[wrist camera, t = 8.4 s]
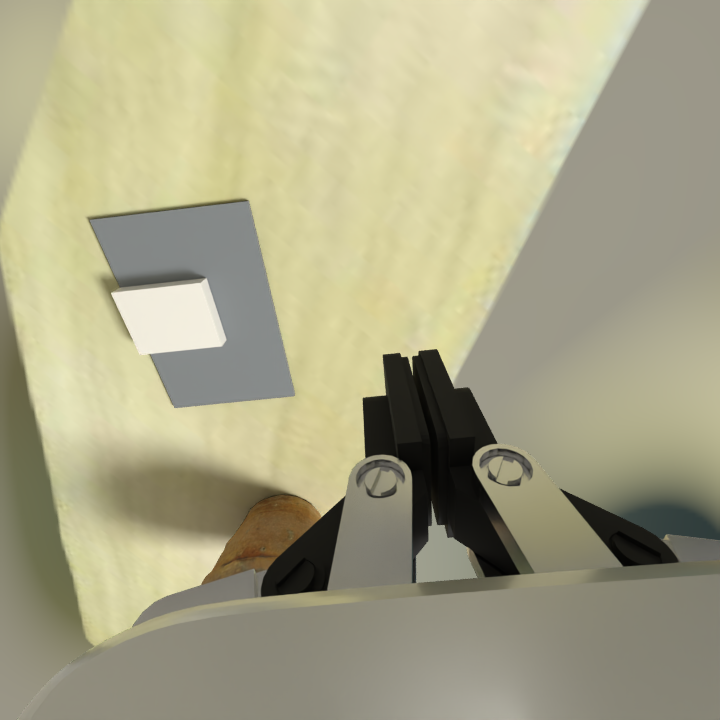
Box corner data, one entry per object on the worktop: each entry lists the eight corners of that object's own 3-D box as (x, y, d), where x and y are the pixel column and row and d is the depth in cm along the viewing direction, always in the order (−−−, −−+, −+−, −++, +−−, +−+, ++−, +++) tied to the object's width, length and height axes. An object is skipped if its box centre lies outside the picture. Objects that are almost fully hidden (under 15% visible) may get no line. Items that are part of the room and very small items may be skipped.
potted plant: (201, 494, 53) (97, 731, 31) (319, 463, 50) (295, 698, 29) (258, 563, 62) (207, 785, 40) (361, 540, 59) (366, 764, 37)
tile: (206, 277, 36) (120, 287, 37) (200, 282, 35) (110, 292, 35) (226, 339, 40) (147, 347, 40) (221, 346, 38) (139, 355, 39)
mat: (92, 219, 34) (89, 220, 34) (248, 200, 33) (247, 201, 33) (176, 406, 45) (174, 408, 44) (295, 394, 44) (294, 396, 44)
